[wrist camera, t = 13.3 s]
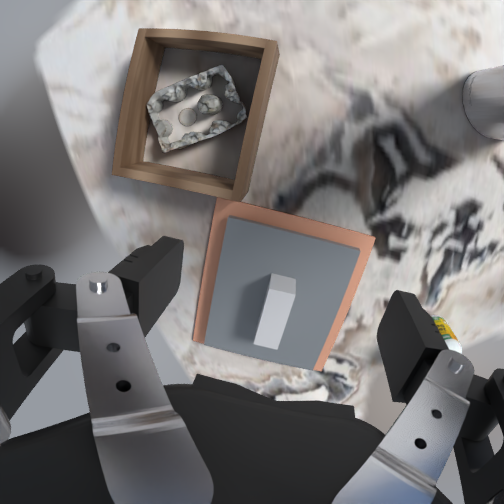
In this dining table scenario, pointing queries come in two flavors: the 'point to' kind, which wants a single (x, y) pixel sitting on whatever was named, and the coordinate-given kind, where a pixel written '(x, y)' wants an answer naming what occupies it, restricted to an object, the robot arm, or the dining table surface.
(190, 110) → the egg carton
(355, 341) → the dining table surface
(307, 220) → the mat
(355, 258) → the lid
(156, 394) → the robot arm
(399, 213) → the dining table surface
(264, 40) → the box
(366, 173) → the dining table surface
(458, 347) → the supplement bottle
